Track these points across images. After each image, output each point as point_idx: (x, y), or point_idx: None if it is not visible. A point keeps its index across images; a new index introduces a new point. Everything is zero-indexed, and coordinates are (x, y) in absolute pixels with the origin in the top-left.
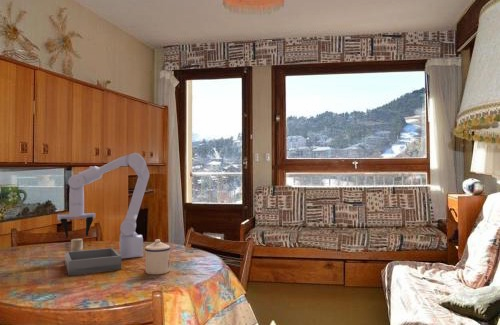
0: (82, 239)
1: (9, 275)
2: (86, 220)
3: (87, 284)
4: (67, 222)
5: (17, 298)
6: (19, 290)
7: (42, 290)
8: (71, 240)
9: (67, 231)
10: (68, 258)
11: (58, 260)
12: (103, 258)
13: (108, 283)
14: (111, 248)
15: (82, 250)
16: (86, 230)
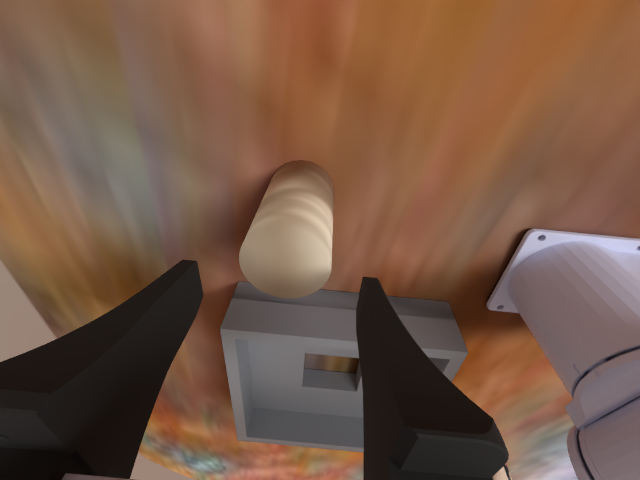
0: (328, 276)
1: (58, 321)
2: (374, 474)
3: (285, 450)
4: (130, 472)
5: (158, 454)
6: (147, 428)
7: (196, 443)
8: (241, 270)
9: (177, 348)
10: (236, 417)
11: (200, 171)
12: (348, 448)
13: (326, 460)
14: (451, 361)
15: (306, 337)
16: (360, 359)
